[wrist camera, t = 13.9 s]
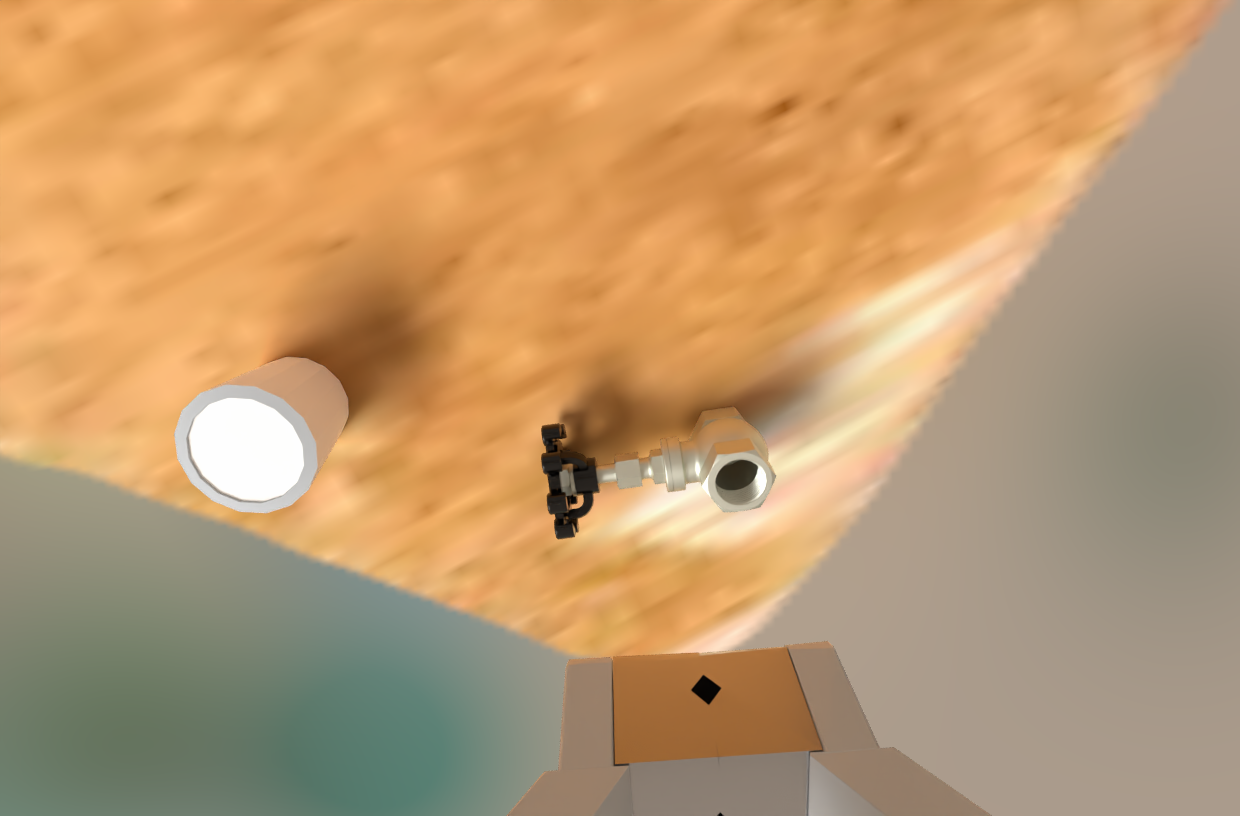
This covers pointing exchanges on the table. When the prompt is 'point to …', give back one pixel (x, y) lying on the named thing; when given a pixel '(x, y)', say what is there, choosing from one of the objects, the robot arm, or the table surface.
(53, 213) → the table surface
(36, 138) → the table surface
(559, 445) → the valve
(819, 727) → the robot arm
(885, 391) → the table surface
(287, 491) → the white cylinder
